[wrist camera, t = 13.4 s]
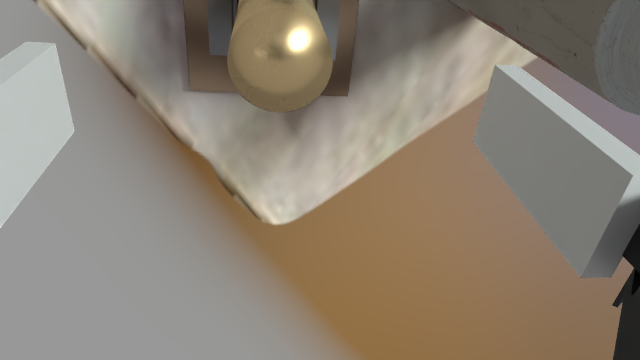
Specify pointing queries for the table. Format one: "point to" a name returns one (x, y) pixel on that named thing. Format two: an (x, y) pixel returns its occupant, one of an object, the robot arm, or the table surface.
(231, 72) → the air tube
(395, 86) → the table surface
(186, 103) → the table surface
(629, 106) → the thermos bottle
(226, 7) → the collar stand
